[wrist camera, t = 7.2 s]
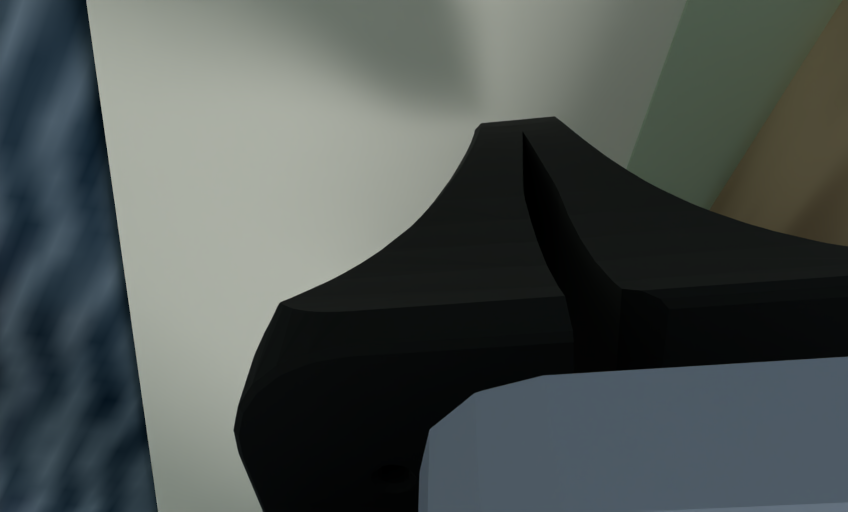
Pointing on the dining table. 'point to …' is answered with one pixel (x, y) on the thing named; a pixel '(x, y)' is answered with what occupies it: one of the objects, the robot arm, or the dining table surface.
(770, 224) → the folding fence panel
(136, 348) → the card
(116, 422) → the dining table surface
